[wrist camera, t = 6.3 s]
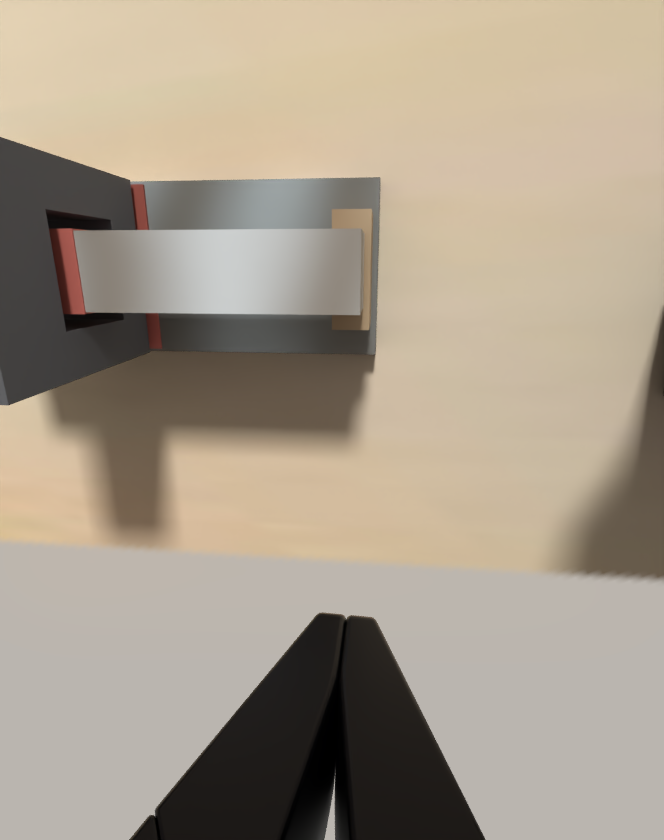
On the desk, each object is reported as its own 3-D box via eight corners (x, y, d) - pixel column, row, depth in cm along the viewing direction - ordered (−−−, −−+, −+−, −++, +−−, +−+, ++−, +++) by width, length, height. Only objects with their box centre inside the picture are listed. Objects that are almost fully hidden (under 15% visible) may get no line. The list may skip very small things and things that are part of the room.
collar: (130, 180, 17) (-54, 119, 10) (150, 351, 19) (8, 405, 12) (49, 181, 17) (-186, 123, 10) (77, 350, 19) (-105, 402, 12)
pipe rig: (380, 181, 17) (379, 144, 12) (375, 350, 19) (372, 383, 14) (10, 187, 18) (-137, 156, 13) (39, 345, 20) (-80, 373, 15)
